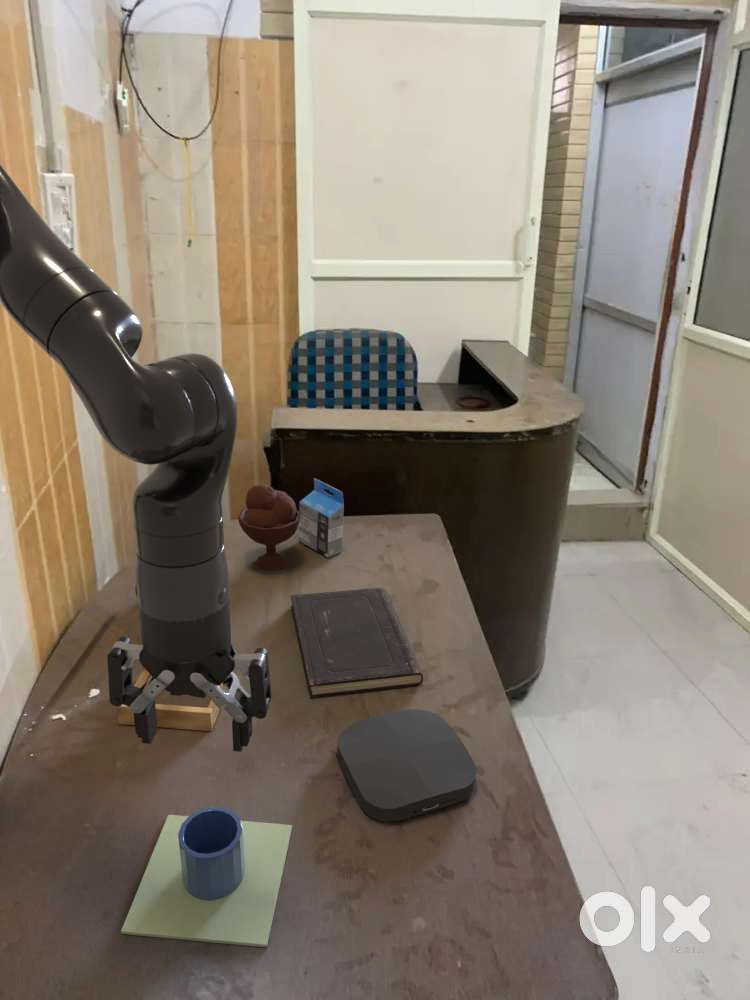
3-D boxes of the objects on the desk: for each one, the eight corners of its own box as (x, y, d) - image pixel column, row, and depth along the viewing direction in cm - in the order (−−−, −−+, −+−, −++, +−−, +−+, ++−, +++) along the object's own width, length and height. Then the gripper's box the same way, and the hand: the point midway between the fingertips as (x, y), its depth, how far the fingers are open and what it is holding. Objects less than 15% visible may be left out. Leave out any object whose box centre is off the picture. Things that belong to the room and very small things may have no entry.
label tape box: (297, 541, 145) (297, 482, 140) (314, 535, 148) (314, 477, 142) (327, 559, 139) (327, 498, 134) (344, 552, 142) (345, 492, 137)
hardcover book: (309, 698, 104) (309, 684, 103) (290, 607, 124) (290, 595, 123) (422, 685, 107) (423, 672, 106) (386, 598, 128) (386, 586, 127)
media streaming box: (328, 743, 96) (328, 725, 95) (432, 717, 101) (433, 699, 100) (370, 832, 84) (371, 812, 83) (486, 797, 89) (489, 778, 88)
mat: (121, 933, 72) (120, 931, 72) (168, 817, 85) (168, 814, 85) (266, 947, 71) (266, 944, 71) (292, 827, 84) (292, 824, 84)
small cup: (174, 897, 75) (169, 854, 73) (193, 845, 81) (189, 804, 79) (236, 903, 75) (233, 860, 73) (250, 851, 81) (248, 809, 78)
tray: (118, 724, 98) (116, 705, 97) (146, 674, 107) (144, 657, 106) (211, 731, 97) (210, 713, 96) (231, 681, 107) (230, 663, 105)
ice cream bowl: (256, 583, 131) (253, 504, 124) (231, 555, 139) (227, 480, 133) (311, 568, 136) (311, 492, 130) (284, 542, 144) (282, 469, 138)
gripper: (275, 577, 67) (277, 721, 74) (118, 565, 68) (134, 708, 75) (257, 625, 61) (261, 778, 67) (82, 611, 61) (104, 764, 68)
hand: (194, 741), depth 71 cm, fingers open, 8 cm apart
